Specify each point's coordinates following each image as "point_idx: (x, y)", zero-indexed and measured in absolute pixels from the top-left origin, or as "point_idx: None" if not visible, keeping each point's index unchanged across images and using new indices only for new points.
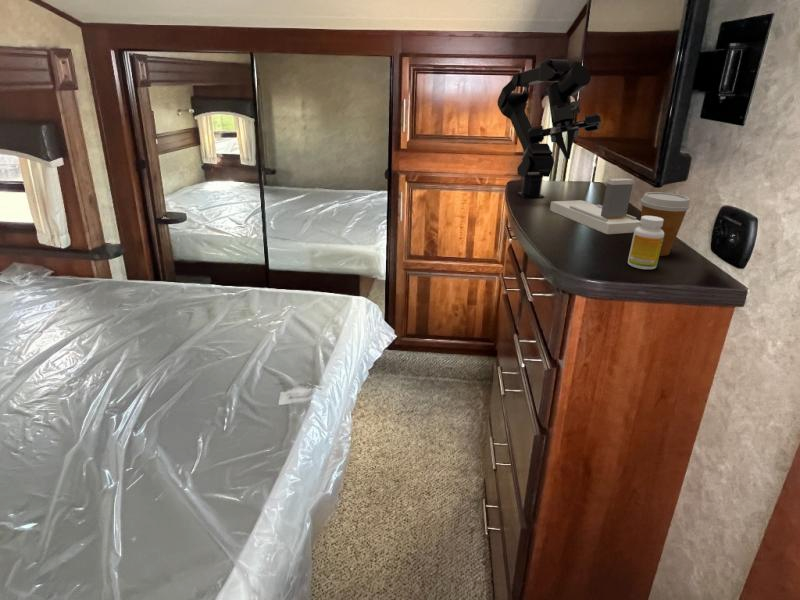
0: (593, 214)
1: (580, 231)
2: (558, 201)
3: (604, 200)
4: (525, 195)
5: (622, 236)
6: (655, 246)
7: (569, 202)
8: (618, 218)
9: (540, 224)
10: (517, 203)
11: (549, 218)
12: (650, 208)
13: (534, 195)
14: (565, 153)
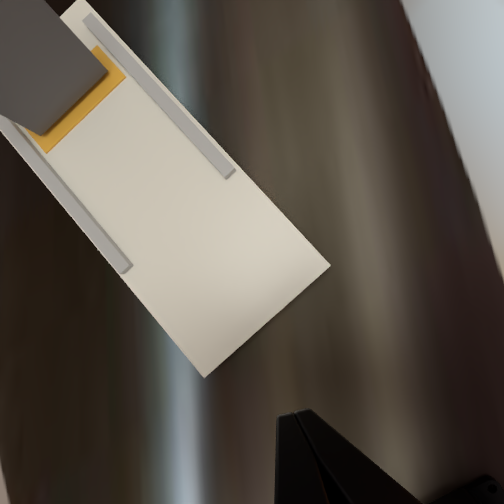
0: (133, 66)
1: (182, 10)
2: (298, 285)
3: (63, 22)
4: (493, 499)
5: None
6: None
7: (249, 292)
8: None
9: (321, 20)
10: (489, 331)
11: (305, 128)
12: None
13: (446, 497)
14: (336, 444)
